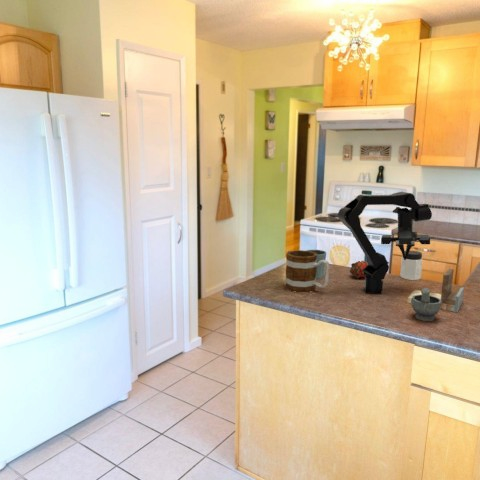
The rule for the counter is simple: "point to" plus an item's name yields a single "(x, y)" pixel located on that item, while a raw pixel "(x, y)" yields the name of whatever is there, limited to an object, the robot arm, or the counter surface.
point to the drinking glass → (320, 268)
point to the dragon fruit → (358, 269)
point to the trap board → (443, 306)
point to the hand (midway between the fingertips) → (405, 259)
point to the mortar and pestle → (425, 305)
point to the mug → (303, 271)
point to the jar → (411, 266)
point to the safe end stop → (459, 299)
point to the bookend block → (448, 288)
